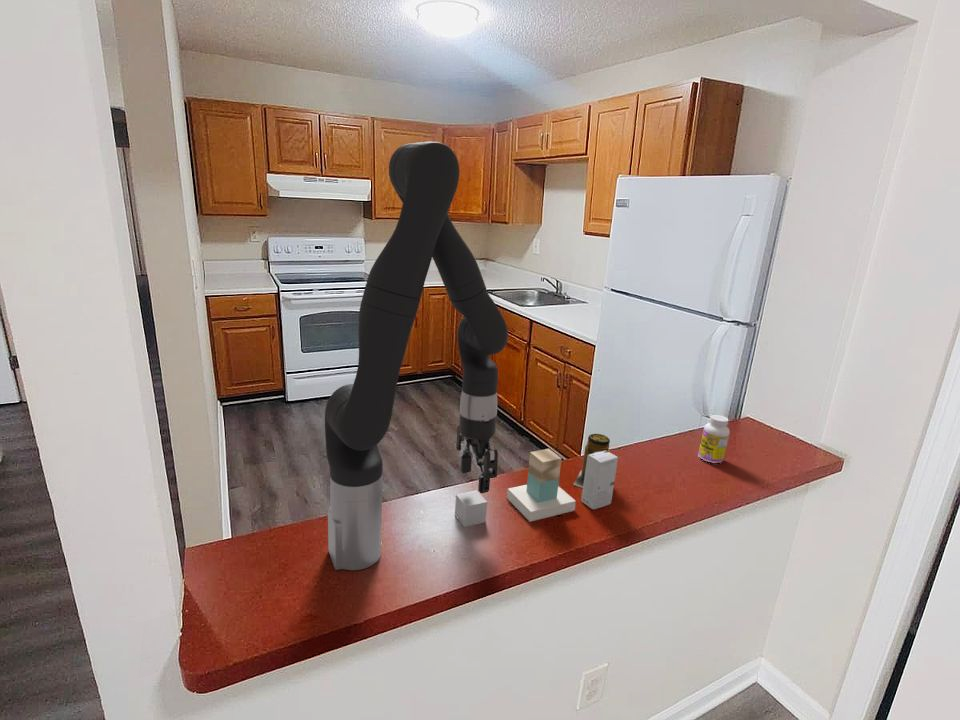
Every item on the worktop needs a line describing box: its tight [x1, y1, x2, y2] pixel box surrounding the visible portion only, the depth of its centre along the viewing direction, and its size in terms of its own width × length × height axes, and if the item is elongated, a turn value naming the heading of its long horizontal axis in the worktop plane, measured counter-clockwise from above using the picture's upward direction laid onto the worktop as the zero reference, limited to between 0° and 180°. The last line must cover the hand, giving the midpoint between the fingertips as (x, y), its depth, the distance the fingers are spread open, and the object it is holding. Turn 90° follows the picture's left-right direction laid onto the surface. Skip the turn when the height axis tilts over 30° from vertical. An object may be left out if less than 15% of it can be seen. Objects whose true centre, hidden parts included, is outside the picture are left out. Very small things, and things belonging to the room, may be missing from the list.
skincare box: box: [580, 450, 619, 510], centre depth 122 cm, size 6×4×12 cm
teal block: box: [526, 472, 560, 503], centre depth 120 cm, size 5×5×5 cm
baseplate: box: [506, 484, 577, 523], centre depth 121 cm, size 12×10×2 cm
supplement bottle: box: [697, 414, 731, 463], centre depth 148 cm, size 7×7×13 cm
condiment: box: [573, 433, 611, 489], centre depth 131 cm, size 7×8×12 cm
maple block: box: [527, 448, 562, 483], centre depth 118 cm, size 5×5×5 cm
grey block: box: [454, 489, 488, 528], centre depth 113 cm, size 5×5×5 cm
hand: (474, 481), depth 111 cm, fingers open, 8 cm apart
